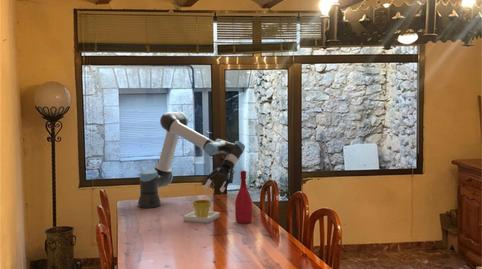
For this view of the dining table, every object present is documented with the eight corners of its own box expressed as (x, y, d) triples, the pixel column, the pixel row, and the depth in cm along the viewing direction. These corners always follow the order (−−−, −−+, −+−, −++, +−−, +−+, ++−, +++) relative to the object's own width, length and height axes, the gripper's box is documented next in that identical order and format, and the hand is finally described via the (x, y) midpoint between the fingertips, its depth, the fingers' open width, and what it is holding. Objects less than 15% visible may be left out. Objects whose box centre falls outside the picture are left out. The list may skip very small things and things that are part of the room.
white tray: (183, 221, 303) (183, 216, 303) (195, 215, 318) (195, 210, 318) (208, 223, 297) (208, 218, 297) (219, 217, 312) (219, 212, 312)
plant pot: (212, 215, 312) (211, 199, 311) (209, 219, 302) (209, 203, 301) (195, 215, 313) (194, 199, 312) (192, 219, 303) (191, 203, 302)
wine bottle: (252, 224, 295) (251, 172, 293) (235, 224, 295) (234, 172, 293) (252, 219, 305) (251, 169, 303) (235, 219, 305) (235, 169, 303)
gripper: (247, 168, 318) (231, 196, 308) (218, 164, 334) (201, 191, 324) (241, 160, 313) (225, 188, 303) (212, 157, 330) (195, 183, 320)
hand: (213, 189), depth 314 cm, fingers open, 13 cm apart
